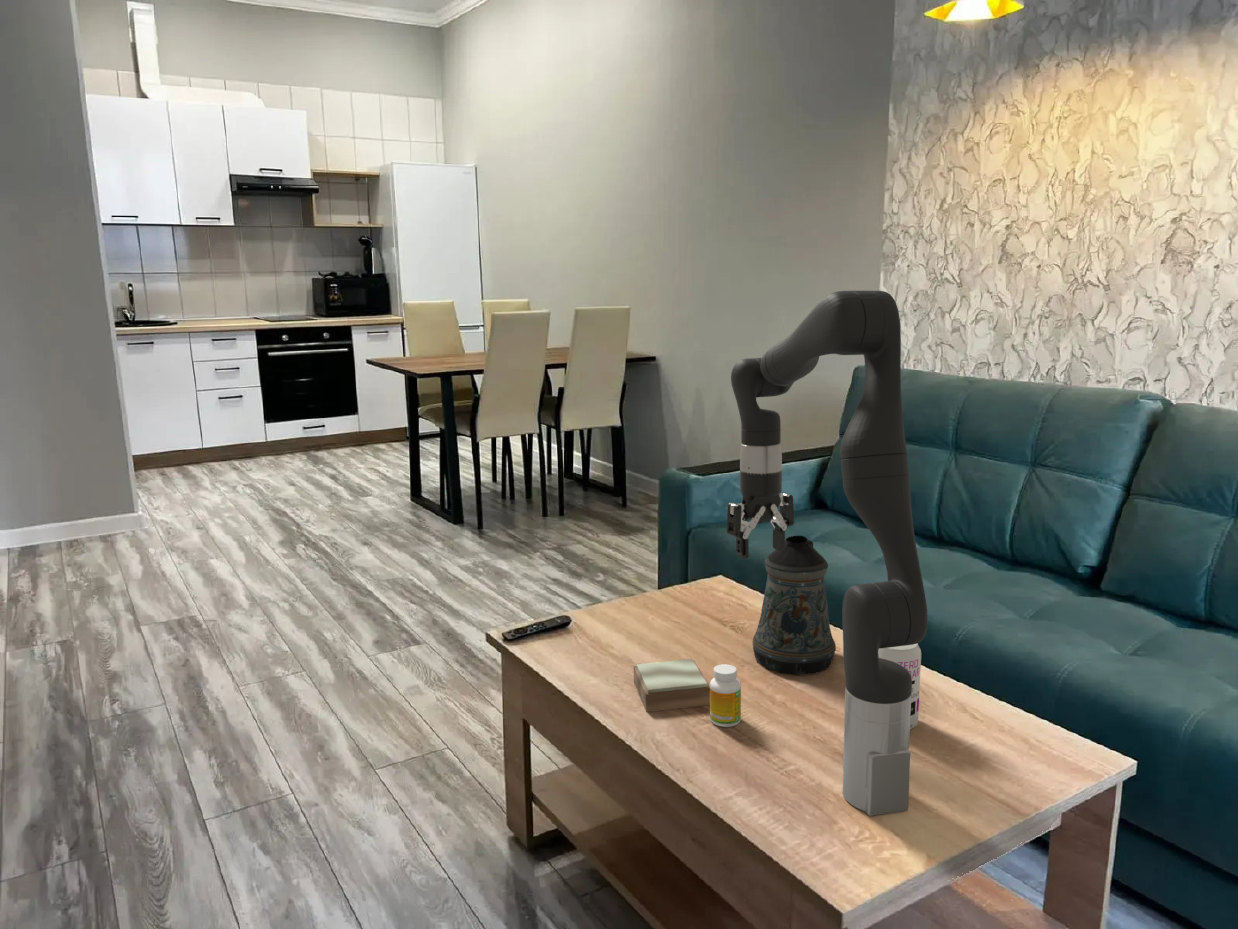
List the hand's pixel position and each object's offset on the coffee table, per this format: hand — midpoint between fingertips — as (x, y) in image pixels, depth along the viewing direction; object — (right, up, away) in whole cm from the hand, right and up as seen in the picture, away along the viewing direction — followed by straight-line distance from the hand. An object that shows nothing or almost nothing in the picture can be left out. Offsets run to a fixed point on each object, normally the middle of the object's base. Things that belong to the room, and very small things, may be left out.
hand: (761, 553), depth 163 cm
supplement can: (+21, -28, -11) cm, 37 cm away
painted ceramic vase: (+9, -23, +17) cm, 30 cm away
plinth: (-17, -27, +2) cm, 31 cm away
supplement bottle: (-8, -29, -8) cm, 31 cm away
